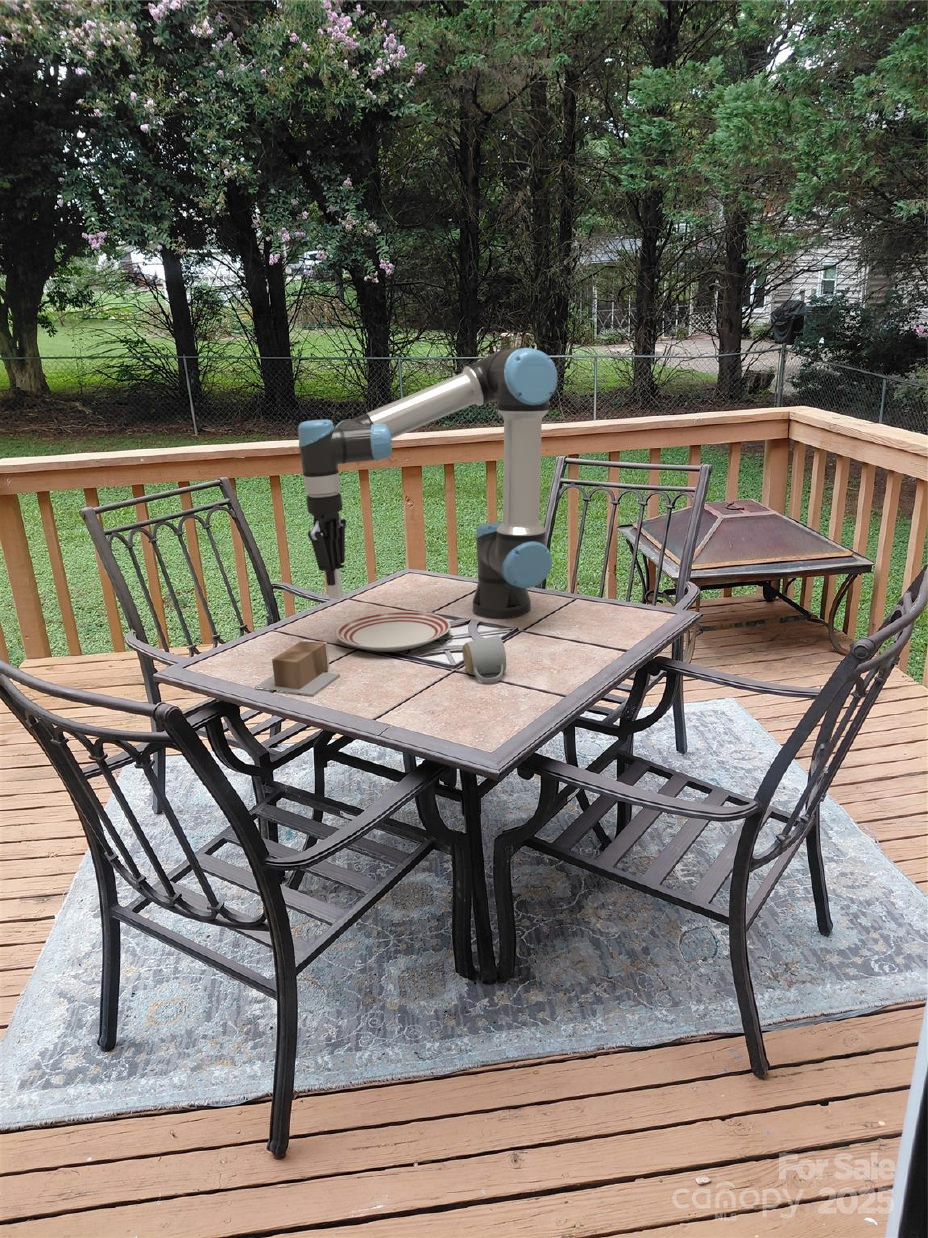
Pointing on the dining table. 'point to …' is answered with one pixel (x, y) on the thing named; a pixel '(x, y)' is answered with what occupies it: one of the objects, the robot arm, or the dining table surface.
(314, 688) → the grey mat
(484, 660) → the ceramic mug
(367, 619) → the dinner plate
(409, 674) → the dining table surface
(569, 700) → the dining table surface
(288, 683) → the walnut block
